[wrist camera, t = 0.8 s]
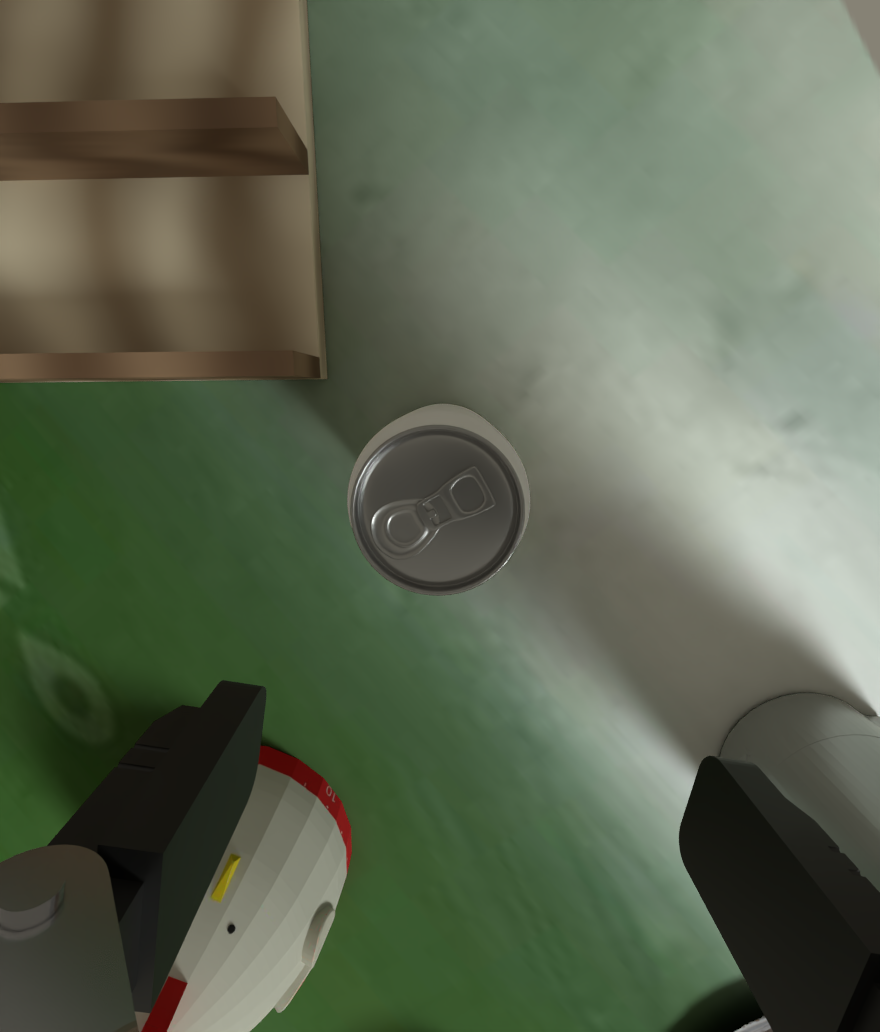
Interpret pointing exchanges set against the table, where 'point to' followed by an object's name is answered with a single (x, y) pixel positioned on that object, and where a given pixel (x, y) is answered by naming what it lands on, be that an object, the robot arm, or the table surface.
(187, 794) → the robot arm
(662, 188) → the table surface
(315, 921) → the kitchen timer
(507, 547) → the can
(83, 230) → the rack
